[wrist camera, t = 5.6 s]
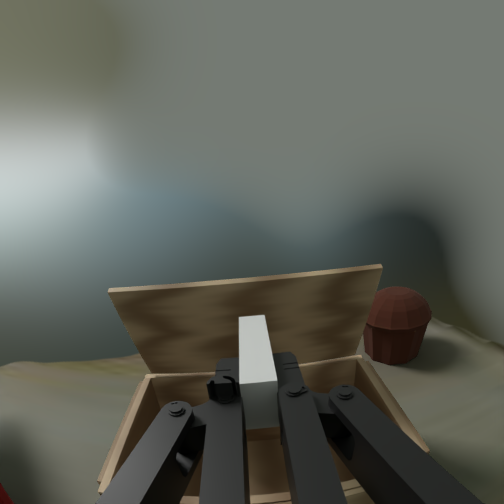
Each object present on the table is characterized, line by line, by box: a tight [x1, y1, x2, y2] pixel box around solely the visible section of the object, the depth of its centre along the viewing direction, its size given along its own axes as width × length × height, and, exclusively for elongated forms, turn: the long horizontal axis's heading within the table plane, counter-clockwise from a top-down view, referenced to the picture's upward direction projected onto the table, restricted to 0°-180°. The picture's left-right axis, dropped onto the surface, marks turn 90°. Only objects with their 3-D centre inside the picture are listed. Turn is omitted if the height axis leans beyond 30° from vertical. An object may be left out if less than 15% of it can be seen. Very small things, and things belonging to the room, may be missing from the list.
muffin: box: [363, 287, 432, 365], centre depth 41 cm, size 12×11×10 cm
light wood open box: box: [97, 355, 430, 504], centre depth 20 cm, size 21×14×10 cm
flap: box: [108, 264, 383, 373], centre depth 22 cm, size 19×1×10 cm, turn 93°
